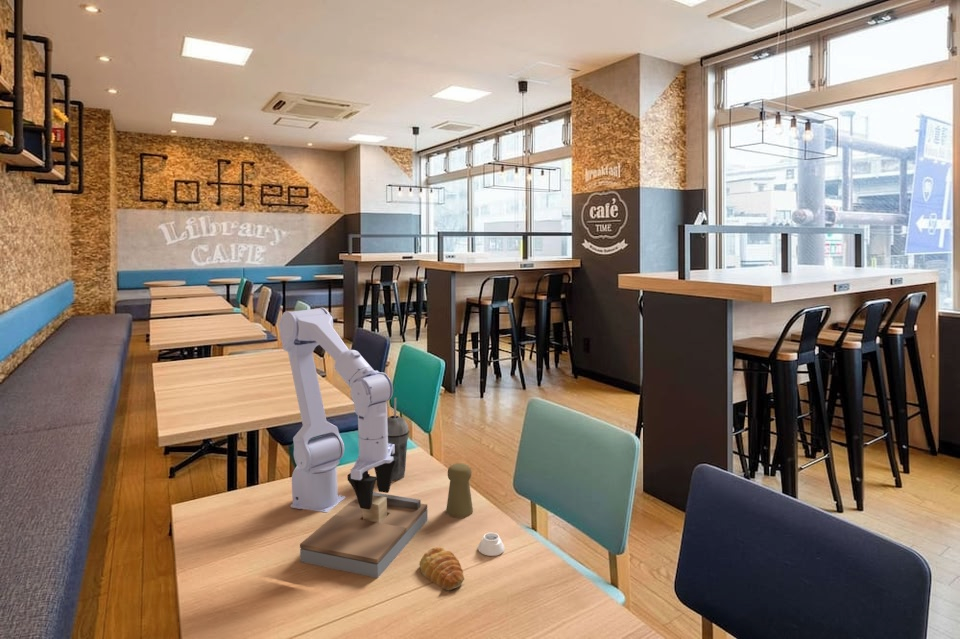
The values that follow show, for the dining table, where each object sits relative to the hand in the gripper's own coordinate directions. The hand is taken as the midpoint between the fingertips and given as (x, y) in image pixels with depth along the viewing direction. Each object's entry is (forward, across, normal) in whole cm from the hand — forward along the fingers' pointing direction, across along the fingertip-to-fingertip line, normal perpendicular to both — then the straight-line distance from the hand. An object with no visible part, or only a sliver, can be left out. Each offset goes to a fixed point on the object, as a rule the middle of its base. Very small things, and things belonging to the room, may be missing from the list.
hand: (374, 499), depth 120 cm
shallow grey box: (+8, -3, 0) cm, 8 cm away
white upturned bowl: (+8, +2, -24) cm, 25 cm away
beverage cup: (+8, +27, +9) cm, 30 cm away
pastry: (+8, -8, -18) cm, 22 cm away
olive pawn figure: (+8, +14, -13) cm, 21 cm away
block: (+7, 0, 0) cm, 7 cm away
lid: (+4, -3, 0) cm, 5 cm away
